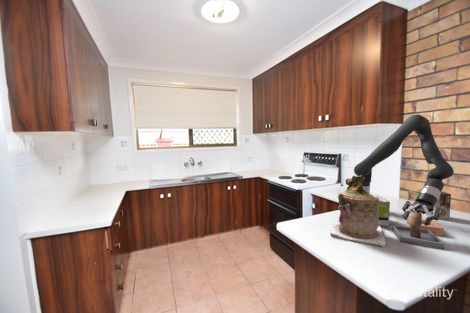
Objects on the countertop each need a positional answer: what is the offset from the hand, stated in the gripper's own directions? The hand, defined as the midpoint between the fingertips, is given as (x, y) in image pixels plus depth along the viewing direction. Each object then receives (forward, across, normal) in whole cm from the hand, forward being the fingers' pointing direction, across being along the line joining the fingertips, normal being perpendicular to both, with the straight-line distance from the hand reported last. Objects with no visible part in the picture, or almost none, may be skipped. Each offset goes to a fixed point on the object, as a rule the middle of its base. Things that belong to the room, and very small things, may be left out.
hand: (414, 221), depth 103 cm
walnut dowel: (+5, 0, +7) cm, 8 cm away
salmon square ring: (-6, -4, +19) cm, 20 cm away
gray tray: (+5, 0, +7) cm, 9 cm away
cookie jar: (+20, -17, -7) cm, 28 cm away
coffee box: (-28, -9, +41) cm, 50 cm away
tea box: (+3, -23, +10) cm, 25 cm away
